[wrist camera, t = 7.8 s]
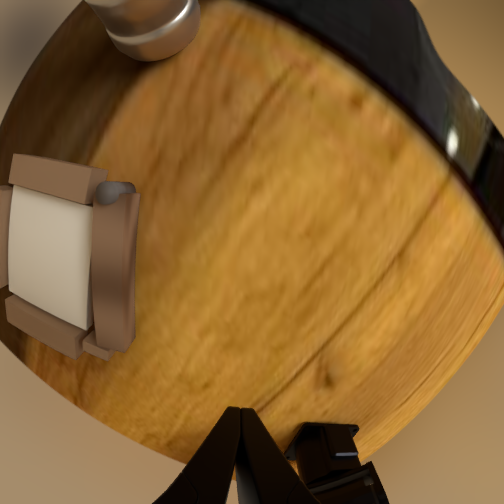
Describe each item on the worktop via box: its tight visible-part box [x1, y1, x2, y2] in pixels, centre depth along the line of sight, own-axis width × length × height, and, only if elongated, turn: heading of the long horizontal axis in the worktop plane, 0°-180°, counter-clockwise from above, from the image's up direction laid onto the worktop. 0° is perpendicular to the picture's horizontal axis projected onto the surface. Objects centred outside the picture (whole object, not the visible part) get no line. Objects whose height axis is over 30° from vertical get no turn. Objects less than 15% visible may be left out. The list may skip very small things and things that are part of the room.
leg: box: [91, 181, 140, 353], centre depth 17 cm, size 12×2×3 cm, turn 171°
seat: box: [0, 154, 115, 361], centre depth 17 cm, size 15×15×2 cm
